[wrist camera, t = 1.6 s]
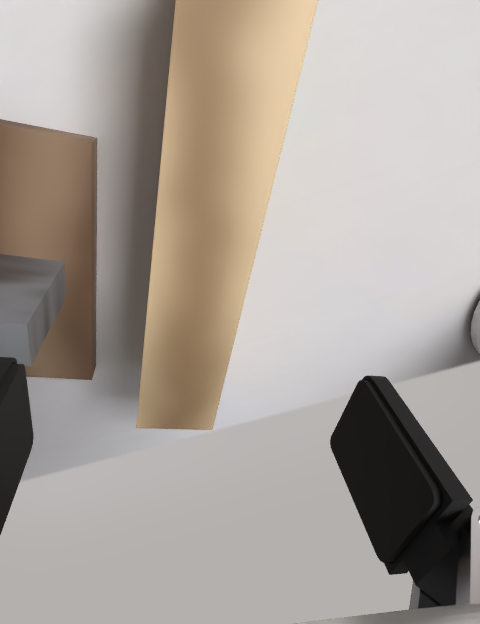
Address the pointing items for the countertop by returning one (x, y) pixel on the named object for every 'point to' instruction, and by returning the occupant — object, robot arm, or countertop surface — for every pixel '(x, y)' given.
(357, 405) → the robot arm
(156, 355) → the oak beam
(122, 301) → the countertop surface
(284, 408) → the countertop surface
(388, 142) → the countertop surface
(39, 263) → the walnut stand
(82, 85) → the countertop surface
